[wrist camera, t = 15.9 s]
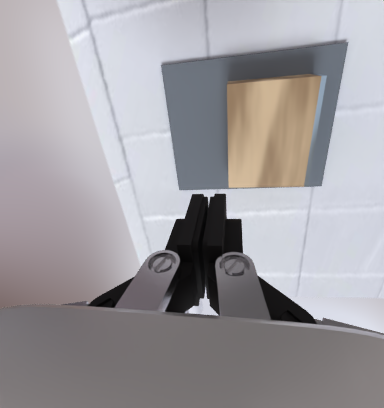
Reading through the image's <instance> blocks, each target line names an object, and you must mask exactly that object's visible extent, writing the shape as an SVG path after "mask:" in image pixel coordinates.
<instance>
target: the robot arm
mask: <svg viewBox="0 0 384 408" xmlns="http://www.w3.org/2000/svg"><path fill="white" fill-rule="evenodd" d="M205 287H206V291H207V298H208V299H209V300H210V306H211V307H212V308H213V309H214V310H215V311H216V313H217V314H218V315H219V316H214V315H201V314H188V313H189V312H188V309H190V308H191V307H193V306H199V300H200V298H204V294H205ZM0 408H384V334H383V333H380V332H376V331H372V330H368V329H364V328H360V327H357V326H353V325H349V324H345V323H341V322H337V321H334V320H330V319H326V318H323V320H322V321H321V320H317V319H314V318H313V317H312V316H311V315H310V314H309V313H308V312H307V311H306V310H304V309H303V308H301V307H300V306H299V305H298V304H296V303H295V302H293V301H292V300H291V299H289V298H288V297H286V296H285V295H284V294H282V293H281V292H280V291H278V290H277V289H275V288H274V287H273V286H271V285H270V284H268V283H267V282H266V281H264V280H263V279H262V278H260V277H259V276H257V273H256V269H255V266H254V263H253V261H252V259H250V258H249V257H248V256H247V255H245V254H243V245H242V223H241V219H227V216H226V194H215V196H214V197H210V203H209V207H208V197H204V195H203V194H192V197H191V200H190V204H189V207H188V210H187V213H186V216H185V219H176V221H175V224H174V227H173V229H172V232H171V235H170V238H169V240H168V243H167V246H166V248H165V250H162V251H157V252H155V253H153V254H151V255H150V256H149V257H148V258H147V259H146V260H145V262H144V263H143V265H142V266H141V268H140V269H139V271H138V273H137V274H136V276H135V277H133V278H132V279H130V280H128V281H126V282H124V283H122V284H121V285H119V286H117V287H115V288H114V289H111V290H110V291H108V292H106V293H104V294H102V295H101V296H99V297H97V298H96V299H94V300H93V301H92V302H91V303H90V304H88V302H87V301H83V302H76V303H69V304H62V305H55V304H30V305H17V306H11V307H4V308H1V309H0Z"/></svg>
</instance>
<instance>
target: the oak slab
mask: <svg viewBox="0 0 384 408" xmlns="http://www.w3.org/2000/svg"><path fill="white" fill-rule="evenodd" d="M326 78H327V75H320V74H304V75H293V76H282V77H271V78H260V79H249V80H239V81H228V82H227V118H228V182H229V188H248V187H307V186H308V184H309V178H310V172H311V166H312V160H313V154H314V148H315V142H316V137H317V131H318V125H319V119H320V113H321V107H322V101H323V95H324V90H325V84H326Z"/></svg>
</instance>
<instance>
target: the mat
mask: <svg viewBox="0 0 384 408" xmlns="http://www.w3.org/2000/svg"><path fill="white" fill-rule="evenodd" d="M347 46H348V42H347V43H339V44H330V45H322V46H314V47H306V48H298V49H290V50H282V51H274V52H266V53H258V54H249V55H241V56H233V57H225V58H217V59H209V60H201V61H193V62H185V63H177V64H169V65H161V68H162V75H163V82H164V88H165V95H166V102H167V109H168V116H169V123H170V130H171V137H172V143H173V150H174V157H175V164H176V171H177V178H178V185H179V190H202V189H238V188H229V182H228V118H227V82H228V81H239V80H249V79H260V78H271V77H282V76H293V75H304V74H320V75H327V78H326V84H325V90H324V95H323V101H322V107H321V113H320V119H319V125H318V131H317V137H316V142H315V148H314V154H313V160H312V166H311V172H310V178H309V184H308V186H307V187H311V186H322V180H323V175H324V169H325V164H326V159H327V153H328V148H329V143H330V137H331V132H332V126H333V121H334V116H335V110H336V105H337V100H338V94H339V89H340V83H341V78H342V73H343V67H344V62H345V57H346V51H347ZM248 188H275V187H248Z"/></svg>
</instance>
